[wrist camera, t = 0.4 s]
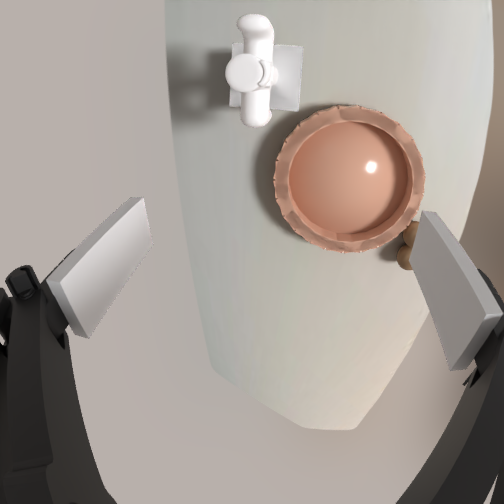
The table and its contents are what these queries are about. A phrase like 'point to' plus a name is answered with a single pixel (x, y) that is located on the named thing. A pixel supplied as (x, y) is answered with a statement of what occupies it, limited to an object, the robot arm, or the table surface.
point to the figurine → (263, 72)
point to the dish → (349, 179)
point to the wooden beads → (406, 250)
